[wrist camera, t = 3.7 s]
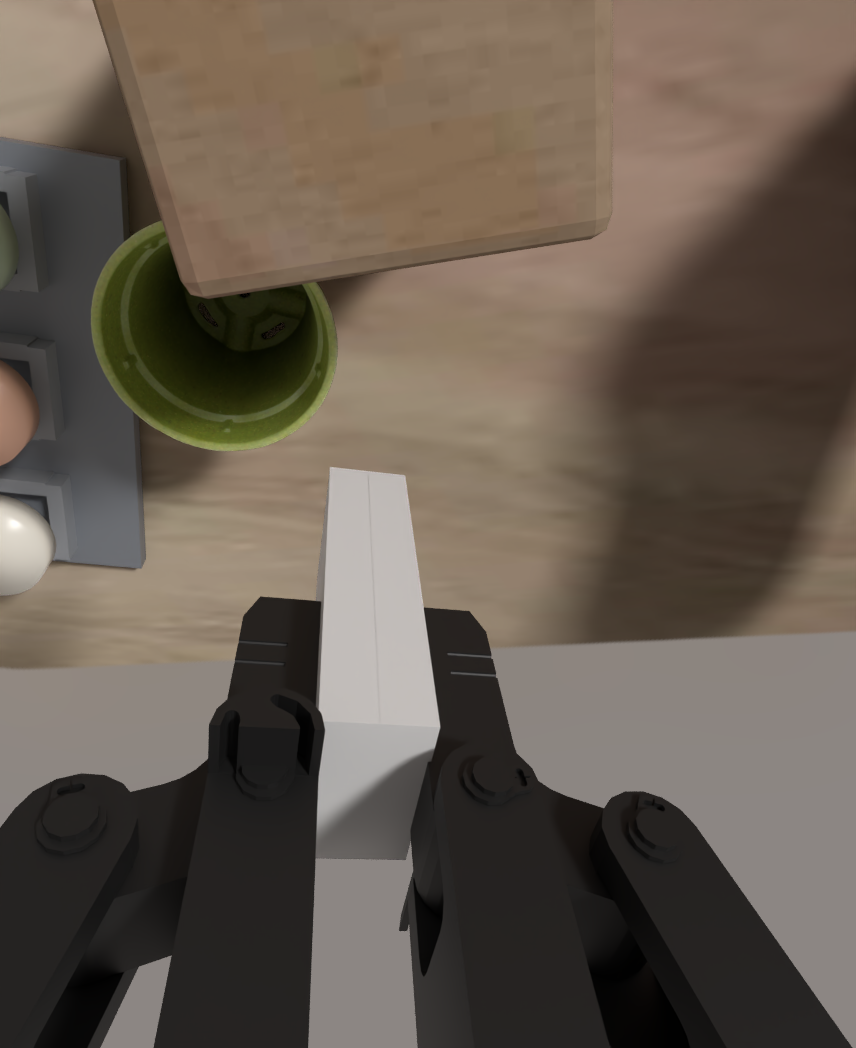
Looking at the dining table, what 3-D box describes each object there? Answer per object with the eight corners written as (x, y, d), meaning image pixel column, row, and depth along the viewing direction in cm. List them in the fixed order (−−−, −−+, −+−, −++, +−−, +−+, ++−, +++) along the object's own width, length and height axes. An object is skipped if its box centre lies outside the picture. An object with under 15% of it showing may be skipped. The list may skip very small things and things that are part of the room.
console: (-171, 108, 30) (-208, 110, 28) (125, 158, 32) (110, 163, 30) (-69, 539, 42) (-91, 562, 40) (145, 558, 43) (135, 581, 41)
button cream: (-47, 475, 37) (-78, 504, 34) (60, 486, 37) (38, 516, 35) (-30, 557, 39) (-57, 590, 37) (70, 566, 40) (50, 599, 38)
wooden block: (490, 155, 33) (618, 239, 16) (277, 189, 33) (182, 307, 16) (468, -132, 28) (625, -456, 11) (213, -90, 28) (-26, -346, 11)
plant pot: (262, 140, 32) (230, 160, 25) (379, 317, 37) (381, 378, 29) (106, 258, 34) (35, 308, 27) (235, 411, 39) (204, 489, 31)
